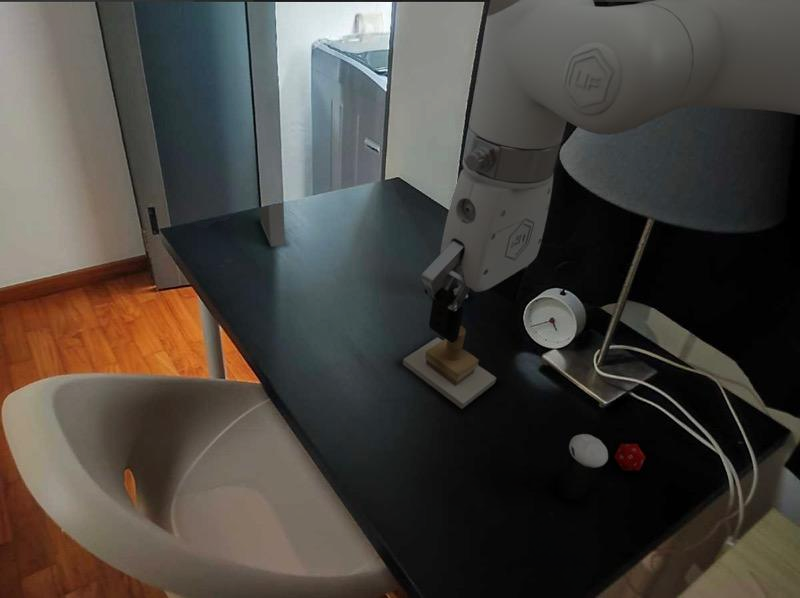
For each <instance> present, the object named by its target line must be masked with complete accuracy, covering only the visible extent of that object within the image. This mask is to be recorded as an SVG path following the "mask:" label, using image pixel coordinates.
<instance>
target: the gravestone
mask: <svg viewBox="0 0 800 598" xmlns="http://www.w3.org/2000/svg"><path fill="white" fill-rule="evenodd" d="M284 204H285V203H284V201H283V202H282V203H278V204H273V205H268V206H265V207H262V208H261V209H260V208H259V216H260V224H261V226H262V229H263V231H264V235H265V236H266V239H267V241H268V244H269V246H270V247H272V248H273V247H278V246H285V245H286V240H285V239H286V236H285V235H286V234H285V208H284V207H285V205H284Z"/></svg>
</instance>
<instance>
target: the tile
mask: <svg viewBox="0 0 800 598" xmlns="http://www.w3.org/2000/svg"><path fill="white" fill-rule="evenodd" d="M443 340H444V339H441V338H440V337H438V336H437V337H435V338H434V339H432V340H430V341H429V342H428V343H426V344H425V345H423V346H421V347H419V348H418V349H417V350H416V351H413V352H412V353H410V354H409V355H407V356H406V357H404V358H403V359H402V365H403V366H404V367H406V368H407V369H408V370H409V371H411V372H412V373H413V374H415V375H416V376H417V377H419V378H420V379H421V380H423V381H424V382H425V383H427V384H428V385H429V386H431V387H432V388H433V389H435V391H437V392H438V393H440V395H442V396H444V397H445V398H447V399H448V400H449V401H450V402H452V403H453V404H454V405H456V406H457V408H460V409H461V410H462V409H464V408H465V407H467V406H468V405H470V404H471V403H472V402H473V401H474V400H476V399H477V398H478V397H479V396H481V395H482V394H483V393H485V392H486V391H487V390H488V389H489V388H492V386H493V385H495V384H496V381H497V377H496V376H495V375H494V374H492V373H491V372H489V371H488V370H486V369H485V368H483V367H481V366H480V365H479V364H478V366H477V367H476V368H475V371H474V373H473V374H471V375H470V376H469V377H467V378H466V379H465V380H463V381H462V382H460V383H459V384H458V385H456V386H455V385H453V384H452V383H451V382H449V381H448V380H447V379H445V378H444V377H443V376H441V375H440V374H439V373H437V372H436V371H434V370H433V369H432V368H430V367H429V366H428V365H426V360H427V359H425V355H426V351H427V350H429V349H430V348H432V347H433V346H435V345H437V344H438V343H440V342H441V341H443Z"/></svg>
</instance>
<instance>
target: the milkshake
mask: <svg viewBox="0 0 800 598" xmlns="http://www.w3.org/2000/svg"><path fill="white" fill-rule="evenodd" d="M608 460H609V451H608V449H607V447H606V445H605V444H604V443H603V441H602V440H601V439H599V438H597V437H595V436H593V435H592V434H589V433H588V434H587V433H582V434H581V433H580V434H577V435H574V436H573V437H572V438H571V439H570V442H569V445H568V448H567V452H566V456H565V460H564V464H563V467H562V471H561V473H560V478H559V480H558V484H557V489H558V493H559V494H560V495H561V496H562V497H563V498H565V499H566V500H568V501H572V502H576V501H579V500H582V499H583V497H584V496H585V494H586V492H587V491H588V490H589V488H590V486H591V485H592V483H593V481H594V480H595V478H596V477H597V476H598V474H599V473H600V472H601V470H602V469H603V467H604V466H605V465H606V463H607V462H608Z"/></svg>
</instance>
